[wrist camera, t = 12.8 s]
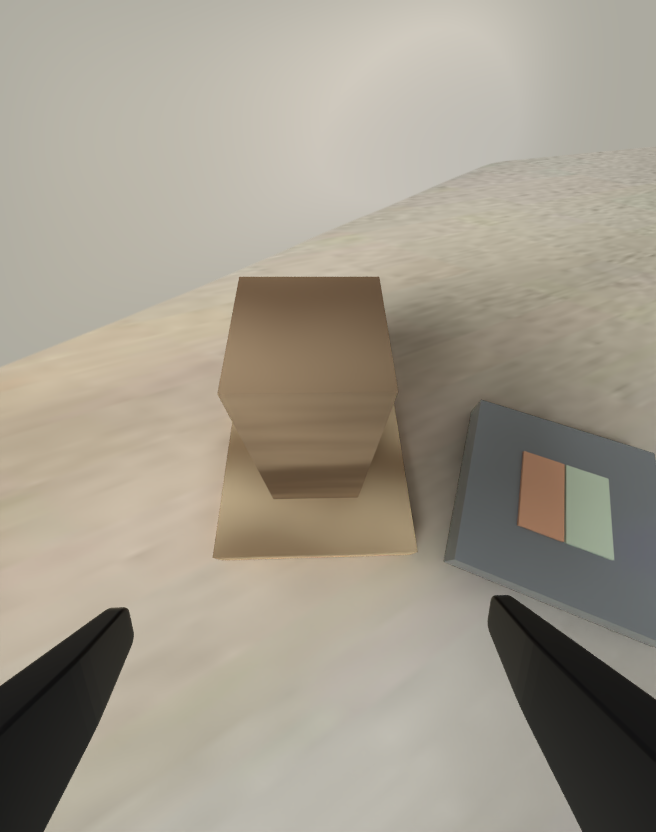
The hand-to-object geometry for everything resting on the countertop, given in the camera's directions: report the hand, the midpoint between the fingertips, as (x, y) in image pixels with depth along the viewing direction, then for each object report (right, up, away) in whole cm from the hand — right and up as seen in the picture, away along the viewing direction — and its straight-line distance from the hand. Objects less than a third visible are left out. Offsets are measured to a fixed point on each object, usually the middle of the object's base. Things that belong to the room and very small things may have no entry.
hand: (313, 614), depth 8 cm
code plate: (+13, 0, +10) cm, 17 cm away
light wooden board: (0, +2, +11) cm, 11 cm away
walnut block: (0, +2, +10) cm, 10 cm away
